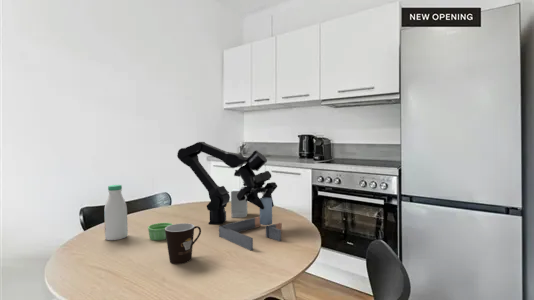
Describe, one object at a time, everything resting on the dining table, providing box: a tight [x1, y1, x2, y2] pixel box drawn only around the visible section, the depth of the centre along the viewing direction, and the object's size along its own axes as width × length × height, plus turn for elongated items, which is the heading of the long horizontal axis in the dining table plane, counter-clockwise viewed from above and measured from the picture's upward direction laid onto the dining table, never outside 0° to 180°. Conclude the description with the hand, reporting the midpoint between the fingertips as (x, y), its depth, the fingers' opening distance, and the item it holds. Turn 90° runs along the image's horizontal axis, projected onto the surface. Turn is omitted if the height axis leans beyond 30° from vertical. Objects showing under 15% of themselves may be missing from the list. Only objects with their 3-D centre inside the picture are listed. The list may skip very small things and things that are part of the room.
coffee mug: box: [165, 222, 202, 265], centre depth 89 cm, size 12×9×10 cm
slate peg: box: [259, 197, 273, 226], centre depth 116 cm, size 5×5×10 cm
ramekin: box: [147, 222, 173, 241], centre depth 110 cm, size 9×9×4 cm
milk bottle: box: [103, 184, 129, 241], centre depth 111 cm, size 8×8×20 cm
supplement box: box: [230, 188, 249, 218], centre depth 140 cm, size 7×7×13 cm
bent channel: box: [218, 215, 283, 251], centre depth 109 cm, size 20×20×4 cm
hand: (268, 207), depth 115 cm, fingers closed on slate peg, 5 cm apart
